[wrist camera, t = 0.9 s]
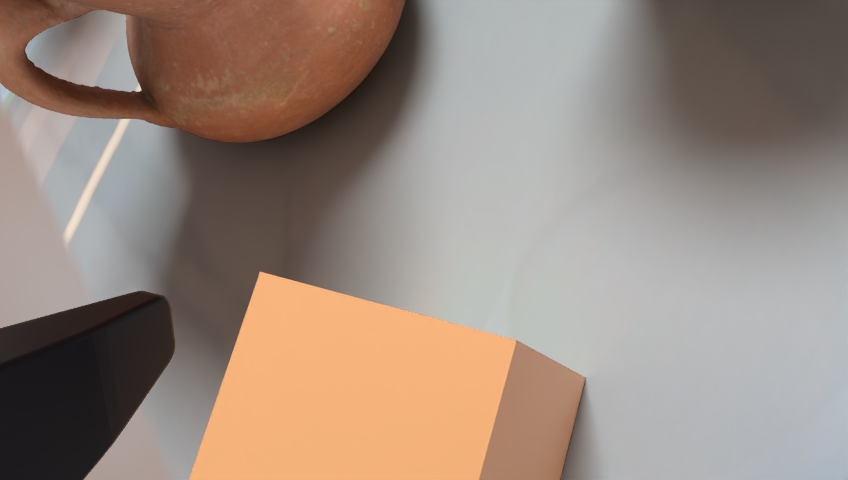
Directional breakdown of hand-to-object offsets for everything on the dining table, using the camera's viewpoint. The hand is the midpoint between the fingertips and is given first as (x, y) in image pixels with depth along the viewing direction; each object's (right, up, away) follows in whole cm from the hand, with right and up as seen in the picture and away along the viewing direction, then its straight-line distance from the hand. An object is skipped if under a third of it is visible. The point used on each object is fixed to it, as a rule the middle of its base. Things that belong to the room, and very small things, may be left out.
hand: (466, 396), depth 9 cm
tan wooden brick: (+1, -6, +16) cm, 17 cm away
